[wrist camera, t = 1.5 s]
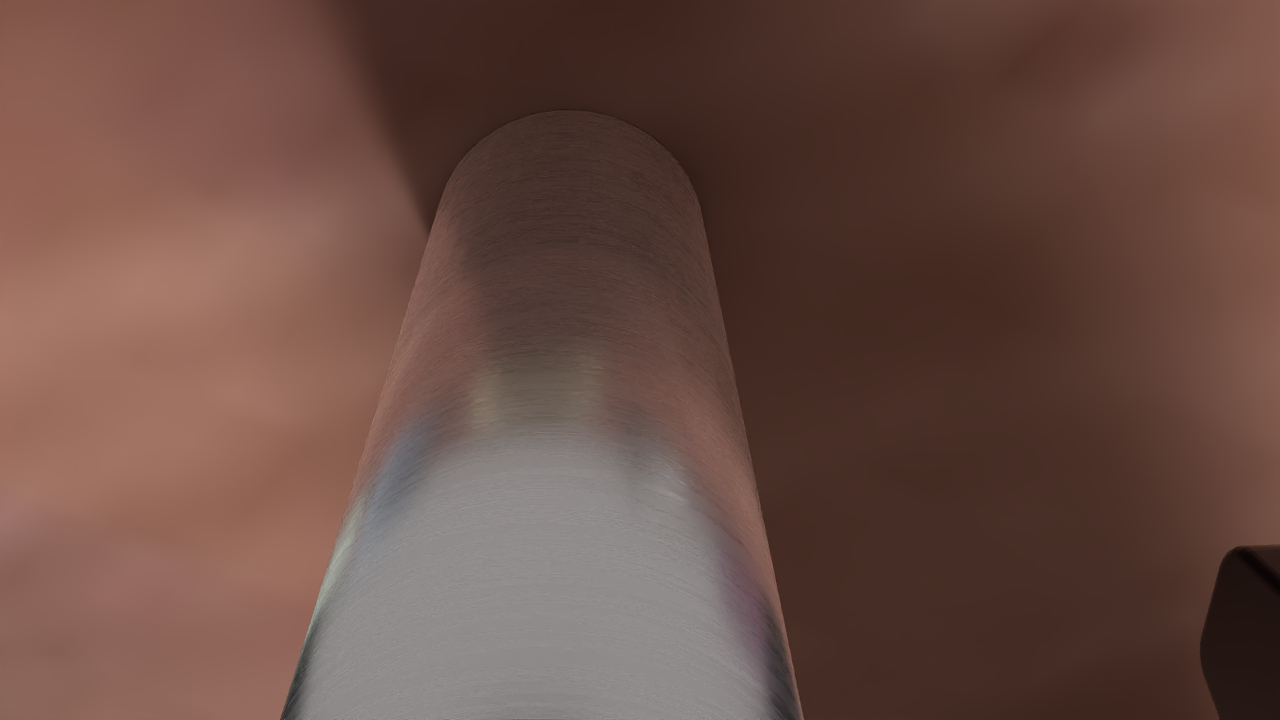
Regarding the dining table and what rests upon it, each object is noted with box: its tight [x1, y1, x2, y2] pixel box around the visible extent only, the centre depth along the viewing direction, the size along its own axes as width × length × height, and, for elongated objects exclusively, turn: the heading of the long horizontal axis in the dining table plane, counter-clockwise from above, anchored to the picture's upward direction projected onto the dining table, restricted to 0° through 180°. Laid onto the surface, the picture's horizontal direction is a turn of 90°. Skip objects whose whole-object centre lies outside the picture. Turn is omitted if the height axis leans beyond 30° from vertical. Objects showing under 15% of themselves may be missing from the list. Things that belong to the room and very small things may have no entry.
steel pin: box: [280, 110, 804, 720], centre depth 10 cm, size 3×3×9 cm
